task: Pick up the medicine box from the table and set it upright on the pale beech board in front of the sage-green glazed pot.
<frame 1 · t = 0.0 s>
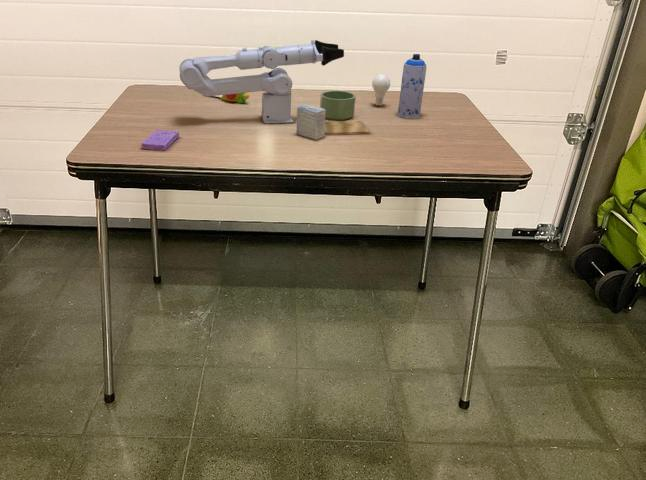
hand: (340, 50, 192), 22 cm above the table, tool horizontal, fingers open, 7 cm apart
sponge: (161, 143, 178), on the table
lightbulb: (378, 106, 217), on the table
aerosol can: (408, 115, 208), on the table
board: (343, 128, 193), on the table
medicine box: (310, 136, 187), on the table
pot: (336, 115, 205), on the table
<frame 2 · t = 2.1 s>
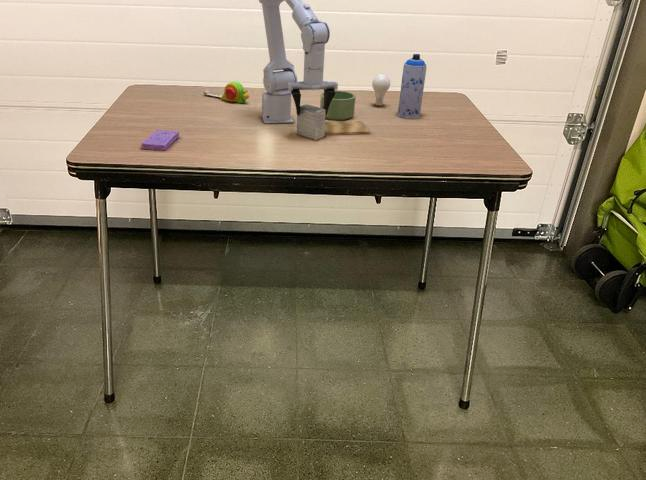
hand: (311, 114, 183), 7 cm above the table, tool pointing down
medicine box: (310, 136, 187), on the table, touching gripper
everything else where it was.
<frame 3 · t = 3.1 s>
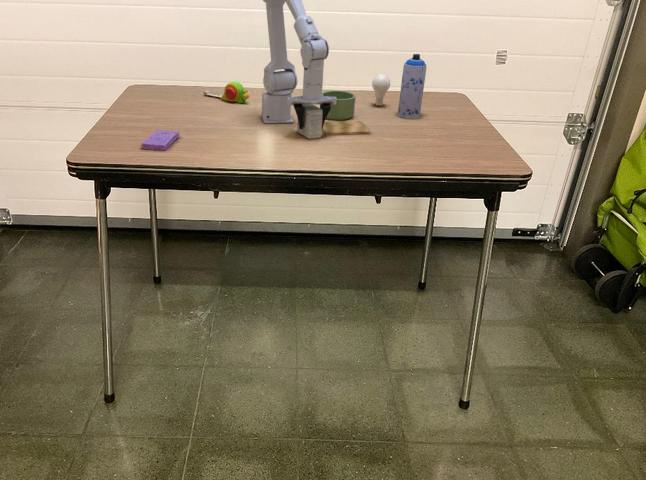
hand: (310, 128, 185), 2 cm above the table, tool pointing down, fingers closed on medicine box, 6 cm apart
medicine box: (308, 135, 187), on the table, touching gripper
everything else where it was.
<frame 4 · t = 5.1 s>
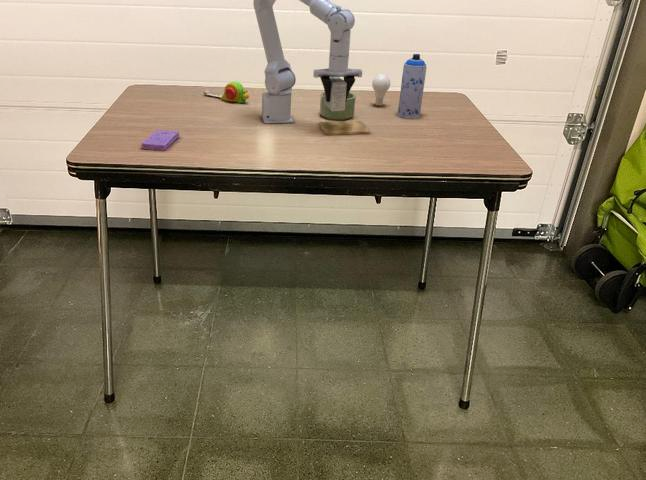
hand: (335, 101, 187), 9 cm above the table, tool pointing down, fingers closed on medicine box, 5 cm apart
medicine box: (333, 108, 189), point 7 cm above the table, touching gripper
everything else where it was.
when the fingers open (3 cm above the table, at t = 7.4 s): medicine box stays where it is, resting on board.
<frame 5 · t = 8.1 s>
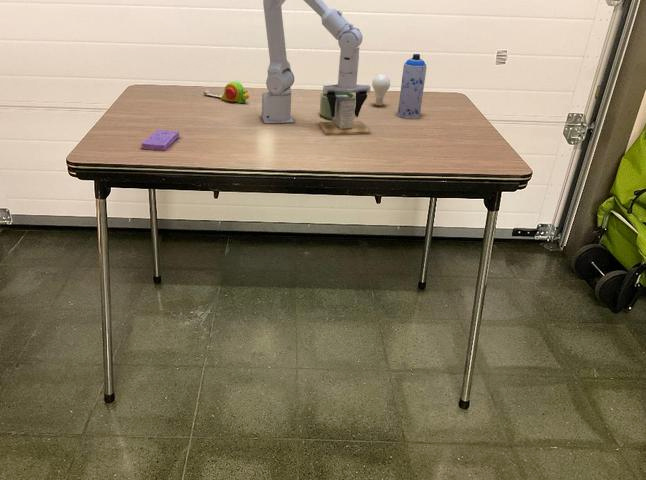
hand: (344, 115, 191), 4 cm above the table, tool pointing down, fingers open, 7 cm apart
medicine box: (342, 125, 194), point 1 cm above the table, touching board
everything else where it was.
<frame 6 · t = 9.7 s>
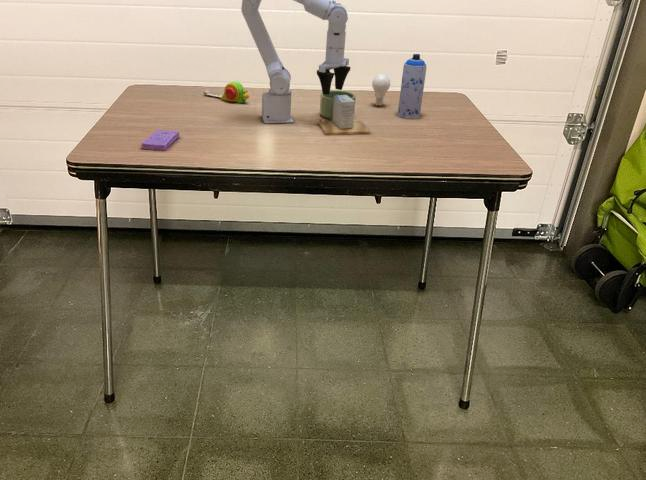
hand: (332, 91, 195), 10 cm above the table, tool pointing down, fingers open, 7 cm apart
nothing on the table moved.
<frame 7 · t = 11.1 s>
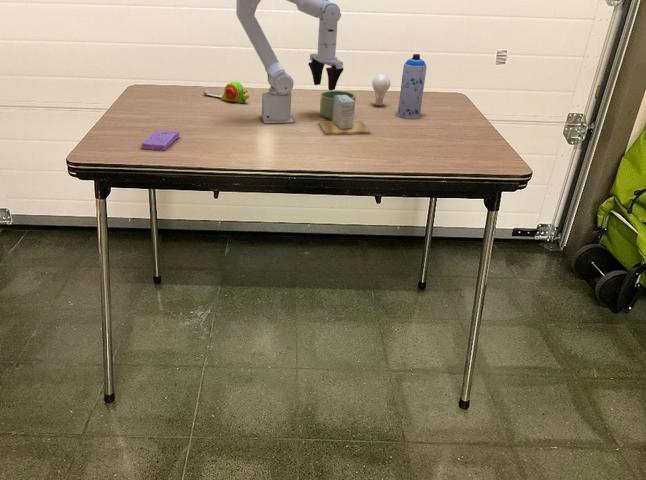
hand: (324, 87, 198), 10 cm above the table, tool pointing down, fingers open, 7 cm apart
nothing on the table moved.
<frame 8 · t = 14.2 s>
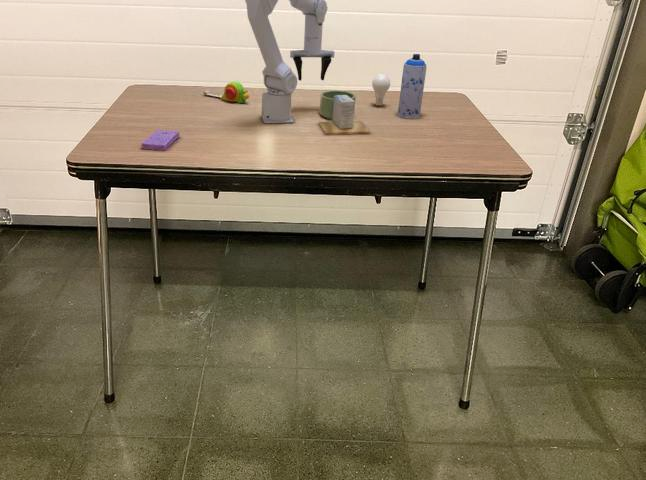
hand: (311, 79, 205), 10 cm above the table, tool pointing down, fingers open, 7 cm apart
nothing on the table moved.
at the end: medicine box inside the target area on the board (1.2 cm from its centre), point 0.6 cm above the board's base; medicine box tilted 0°; medicine box inside the target area on the table beside the pot (1.2 cm from its centre), point 0.6 cm above the table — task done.
